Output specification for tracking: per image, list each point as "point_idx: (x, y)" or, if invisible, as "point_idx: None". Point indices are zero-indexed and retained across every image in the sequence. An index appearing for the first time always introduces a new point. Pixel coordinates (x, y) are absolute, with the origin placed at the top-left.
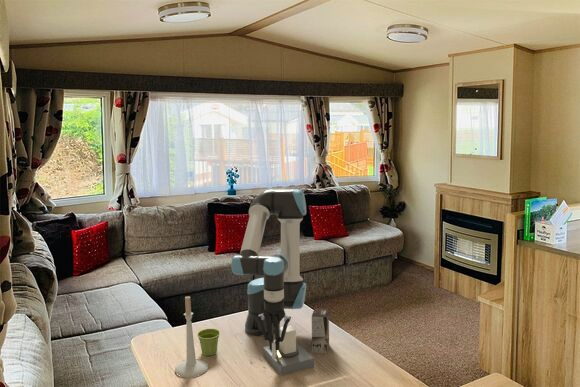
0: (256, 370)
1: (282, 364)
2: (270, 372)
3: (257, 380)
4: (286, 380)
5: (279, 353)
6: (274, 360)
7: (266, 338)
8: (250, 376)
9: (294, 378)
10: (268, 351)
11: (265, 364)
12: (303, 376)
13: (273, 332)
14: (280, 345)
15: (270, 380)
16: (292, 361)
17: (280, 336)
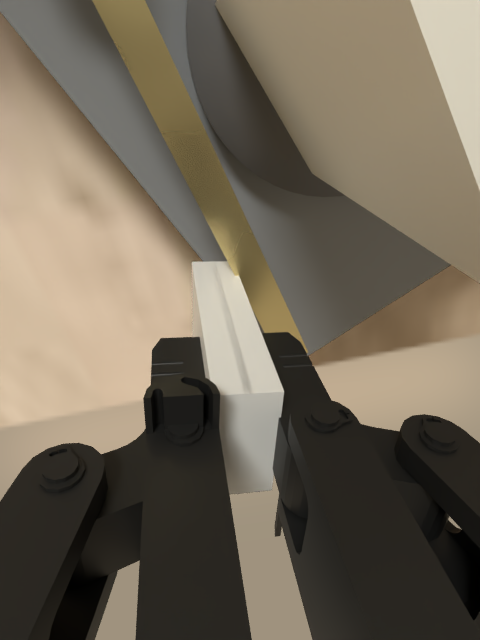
0: (36, 270)
1: (299, 332)
2: (171, 279)
3: (110, 395)
4: (314, 355)
5: (271, 279)
6: (198, 252)
7: (96, 584)
8: (32, 361)
9: (368, 323)
10: (47, 42)
11: (72, 144)
12: (432, 286)
13: (240, 577)
14: (250, 39)
15: None
16: (392, 262)
17: (302, 31)
